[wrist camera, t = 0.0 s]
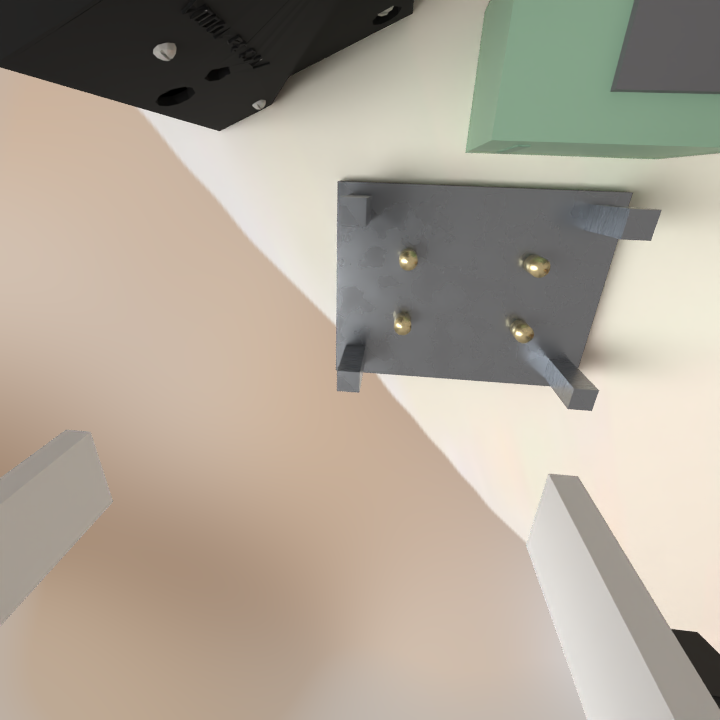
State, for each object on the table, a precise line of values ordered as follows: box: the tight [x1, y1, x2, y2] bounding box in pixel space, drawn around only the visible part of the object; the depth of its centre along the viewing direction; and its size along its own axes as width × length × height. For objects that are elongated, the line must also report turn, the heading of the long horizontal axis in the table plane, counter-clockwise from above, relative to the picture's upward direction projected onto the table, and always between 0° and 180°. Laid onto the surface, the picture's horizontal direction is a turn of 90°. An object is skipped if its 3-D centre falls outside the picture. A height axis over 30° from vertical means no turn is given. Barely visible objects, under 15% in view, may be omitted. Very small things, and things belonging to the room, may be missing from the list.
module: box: [466, 0, 720, 159], centre depth 24 cm, size 9×15×11 cm, turn 88°
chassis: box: [336, 181, 661, 411], centre depth 33 cm, size 18×24×7 cm
